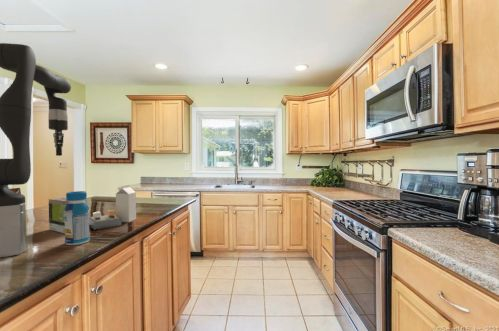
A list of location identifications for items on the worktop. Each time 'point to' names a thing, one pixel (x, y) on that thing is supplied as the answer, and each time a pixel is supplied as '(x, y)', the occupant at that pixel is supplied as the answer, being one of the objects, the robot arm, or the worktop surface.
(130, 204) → the milk carton
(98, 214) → the paddle white
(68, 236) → the blue plastic bottle
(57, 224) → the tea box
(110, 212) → the paddle orange
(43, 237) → the worktop surface
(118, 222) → the switch box
